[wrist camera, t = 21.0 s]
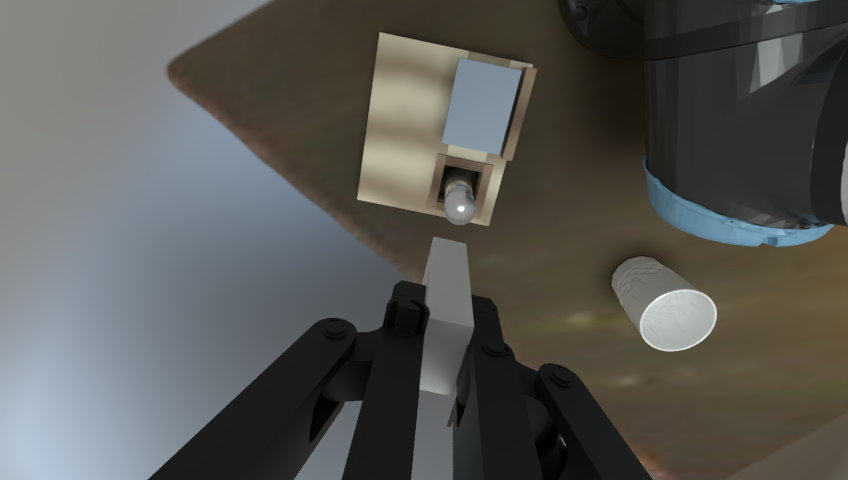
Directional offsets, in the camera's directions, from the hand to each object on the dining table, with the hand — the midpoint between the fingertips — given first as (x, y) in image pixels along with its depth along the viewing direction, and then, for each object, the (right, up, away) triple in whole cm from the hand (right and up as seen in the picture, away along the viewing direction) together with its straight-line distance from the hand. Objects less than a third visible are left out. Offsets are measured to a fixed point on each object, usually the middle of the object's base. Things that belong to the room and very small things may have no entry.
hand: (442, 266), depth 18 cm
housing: (+5, +16, +24) cm, 29 cm away
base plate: (+1, +14, +28) cm, 32 cm away
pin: (+3, +9, +30) cm, 32 cm away
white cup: (+27, -4, +34) cm, 44 cm away
